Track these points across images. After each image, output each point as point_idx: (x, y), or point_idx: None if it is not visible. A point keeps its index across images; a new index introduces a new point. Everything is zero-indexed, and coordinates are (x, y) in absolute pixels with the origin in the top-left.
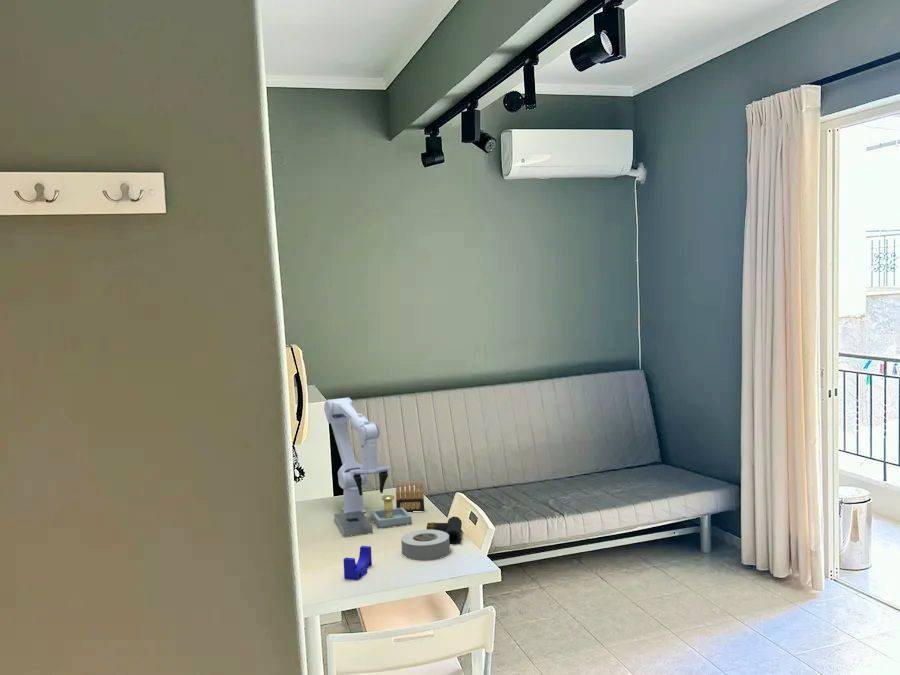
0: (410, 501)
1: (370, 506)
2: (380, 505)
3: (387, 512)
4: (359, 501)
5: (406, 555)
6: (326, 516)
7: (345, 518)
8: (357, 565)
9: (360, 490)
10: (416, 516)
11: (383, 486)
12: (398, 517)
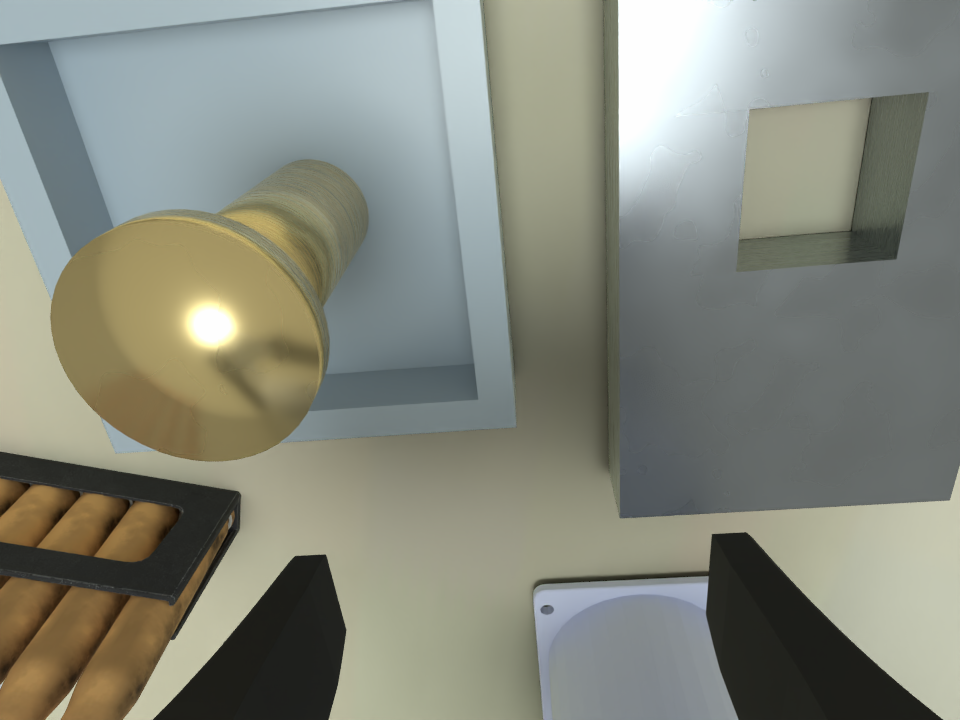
0: (10, 550)
1: (472, 712)
2: (384, 711)
3: (298, 191)
4: (610, 694)
5: None
6: (923, 594)
7: (893, 292)
8: None
9: (793, 598)
10: (4, 323)
11: (221, 649)
12: (134, 3)
